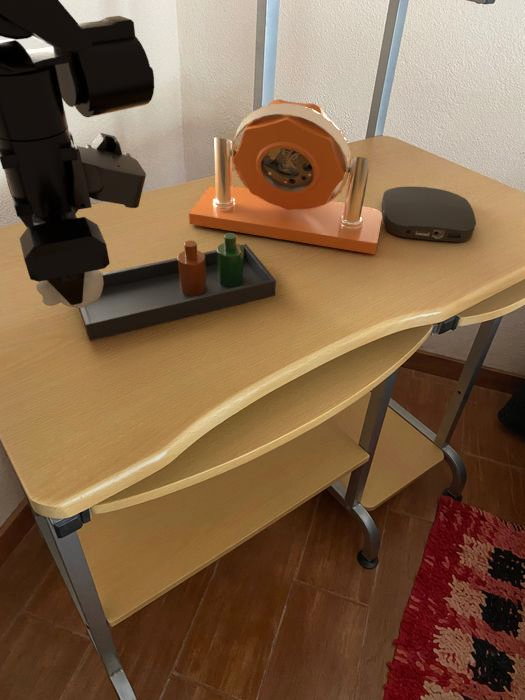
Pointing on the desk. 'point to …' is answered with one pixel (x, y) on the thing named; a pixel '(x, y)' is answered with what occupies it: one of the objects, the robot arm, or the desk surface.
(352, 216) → the desk clock
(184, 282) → the amber bottle
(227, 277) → the green bottle
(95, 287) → the white rounded lumpy piece
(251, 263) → the tray
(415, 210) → the media streaming box
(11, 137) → the robot arm
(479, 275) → the desk surface
